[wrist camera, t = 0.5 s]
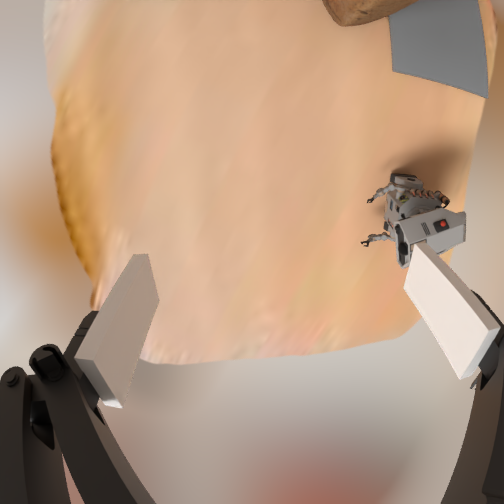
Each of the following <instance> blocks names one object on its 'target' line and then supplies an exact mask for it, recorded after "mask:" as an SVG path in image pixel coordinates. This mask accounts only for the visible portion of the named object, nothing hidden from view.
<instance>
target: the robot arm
mask: <svg viewBox="0 0 504 504" xmlns="http://www.w3.org/2000/svg"><path fill="white" fill-rule="evenodd" d="M404 290H405V291H406V293H407V294H408V296H409V297H410V299H411V300H412V302H413V303H414V305H415V306H416V308H417V309H418V311H419V312H420V314H421V315H422V317H423V319H424V320H425V322H426V323H427V325H428V327H429V328H430V330H431V331H432V333H433V335H434V336H435V338H436V339H437V341H438V343H439V345H440V346H441V348H442V350H443V351H444V353H445V355H446V357H447V358H448V360H449V362H450V364H451V365H452V367H453V369H454V371H455V372H456V374H457V376H458V378H459V380H460V379H463V378H466V377H469V376H471V375H472V374H473V373H474V371H475V370H476V368H477V366H479V367H480V369H481V372H480V373H479V375H478V376H477V378H476V379H475V380H474V382H473V383H472V385H471V387H470V388H471V389H472V388H473V387H474V385H475V384H477V385H476V388H475V390H476V391H475V396H474V401H473V406H472V410H471V415H470V420H469V423H468V427H467V431H466V434H465V438H464V441H463V445H462V448H461V451H460V454H459V458H458V461H457V464H456V466H455V469H454V472H453V475H452V477H451V480H450V483H449V485H448V488H447V490H446V492H445V495H444V497H443V499H442V502H441V504H504V325H503V324H502V322H501V321H500V320H499V318H498V317H497V316H496V315H495V313H494V312H493V311H492V310H490V307H489V306H488V305H487V304H486V303H485V301H484V300H483V299H482V298H481V297H480V296H479V295H478V294H477V293H475V292H474V291H472V290H470V289H469V288H468V287H467V286H466V284H465V283H464V282H463V281H462V280H461V279H460V278H459V277H458V276H457V274H456V273H454V271H453V270H452V269H451V268H450V267H449V266H448V265H447V264H446V263H445V262H444V261H443V260H442V259H441V258H440V257H439V256H438V254H437V253H436V252H435V251H434V250H433V249H432V248H431V247H430V246H429V245H428V244H427V243H418V244H414V249H413V253H412V257H411V261H410V265H409V269H408V273H407V277H406V281H405V284H404ZM158 303H159V297H158V293H157V289H156V285H155V281H154V277H153V273H152V269H151V264H150V260H149V256H148V254H134V255H133V256H132V258H131V259H130V261H129V263H128V264H127V266H126V267H125V269H124V270H123V272H122V274H121V275H120V277H119V278H118V280H117V282H116V283H115V285H114V287H113V288H112V290H111V292H110V293H109V295H108V297H107V298H106V300H105V302H104V304H103V305H102V307H101V309H100V311H91V312H90V313H89V314H88V315H87V316H86V317H85V318H84V319H83V321H82V322H81V324H80V326H79V329H77V331H76V333H75V336H73V338H72V340H71V341H70V344H69V345H68V347H67V349H66V351H65V352H64V354H62V353H61V351H60V349H59V348H58V346H56V345H54V344H47V345H43V346H41V347H39V348H37V349H36V350H35V351H34V352H33V354H32V355H31V357H30V360H29V365H30V366H31V368H32V369H33V371H34V372H35V375H27V374H26V373H25V372H24V370H23V369H22V368H20V367H18V366H17V367H12V368H9V369H8V370H7V371H5V373H4V374H3V375H2V377H1V380H0V504H71V502H70V497H69V493H68V488H67V483H66V478H65V472H64V466H63V458H62V454H63V456H64V459H65V461H66V464H67V466H68V468H69V471H70V473H71V476H72V478H73V480H74V482H75V485H76V487H77V489H78V491H79V493H80V495H81V497H82V499H83V501H84V503H85V504H156V503H155V501H154V500H153V499H152V497H151V496H150V495H149V493H148V492H147V490H146V489H145V487H144V486H143V484H142V483H141V482H140V480H139V478H138V477H137V476H136V474H135V472H134V471H133V469H132V467H131V466H130V464H129V462H128V461H127V459H126V457H125V456H124V454H123V452H122V451H121V449H120V447H119V445H118V444H117V442H116V440H115V438H114V436H113V434H112V433H111V431H110V429H109V427H108V425H107V423H106V421H105V419H104V417H103V415H102V413H101V411H100V409H99V407H98V406H97V403H98V400H99V397H100V398H101V400H102V401H103V402H104V404H105V405H107V406H112V407H118V408H123V406H124V403H125V400H126V397H127V394H128V390H129V387H130V384H131V381H132V378H133V374H134V371H135V368H136V365H137V362H138V359H139V356H140V353H141V350H142V347H143V345H144V342H145V339H146V336H147V333H148V330H149V328H150V325H151V322H152V319H153V316H154V314H155V311H156V308H157V306H158Z"/></svg>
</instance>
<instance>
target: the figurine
mask: <svg viewBox="0 0 504 504" xmlns="http://www.w3.org/2000/svg"><path fill="white" fill-rule="evenodd" d="M390 182H393V183H397V184H398V185H396V186H394V184H393V183H389V184H388V186H386V187H384V188H380V189H378V190H377V191H376V193H377V194H375V195H374V196H373V198H372V199H368V200H367V203H368V201H371V202H369V203H372V201H373V200H374V199H375V198H377V197H378V196H379V197H380V196H383V195H384V194H385V193H386V192H388V191H389V190H390V191H389V192H388V193H387V199H386V204H385V212H384V213H385V216H384V219H385V220H386V222H385V223H384V229H385V230H386V231H389V232H390V235H387V233H386V232H383V233H382V234H378V235H376V234H371V235H369V236H368V238H369V239H368V240H367V241H363V242H361V244H363V243H367V245H364V246H366V247H368V245H369V243H370V242H373V241H376V240H381V239H382V240H383V241H385V240H387V239H390V240H391V241H394V242H396V254H397V262H398V264H399V265H400V267H401V268H402V269H404V268H406V267H409V265H410V261H411V257H412V253H413V249H414V244H418V243H427V244H428V245H429V246H430V247H431V248H432V249H433V250H434V251H435V252H436V253H437V254H438V255H440V254H443V253H444V252H446V251H448V250H449V249H451V248H453V247H454V246H456V245H458V244H460V243H463V242H465V235H466V213H465V212H459V213H454V212H452V211H449V210H447V209H444V208H445V207H446V206H447V205H448V204H449V203H450V200H449V199H448V198H447V197H446V196H444V195H443V194H442V193H441V192H440V191H436V192H435V194H433V192H432V191H430V190H429V191H428V192H427V191H426V190H424V189H423V182H422V181H421V180H419V179H417V177H416V176H414V175H403V174H391V177H390ZM442 203H444V204H445V206H444V207H443V208H442V206H441V204H442Z"/></svg>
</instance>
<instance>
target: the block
mask: <svg viewBox="0 0 504 504" xmlns="http://www.w3.org/2000/svg"><path fill="white" fill-rule="evenodd" d="M322 1H323V3H324V5H325V7H326V9H327V10H328V12H329V14H330V15H331V16H332V18H333V20H334V21H335V22H336V23H337V24H339V25H340V26H356V25H361V24H366V23H369V22H372V21H375V20H378V19H381V18H383V17H386V16H389V15H391V14H394V13H396V12H398V11H399V10H401V9H403V8H406V7H407V6H409V5H411V4H413V3H415V2H417V1H419V0H322Z"/></svg>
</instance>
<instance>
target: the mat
mask: <svg viewBox="0 0 504 504" xmlns="http://www.w3.org/2000/svg"><path fill="white" fill-rule="evenodd" d="M389 25H390V36H391V49H392V68H393V72H398V73H402V74H407V75H411V76H416V77H420V78H424V79H428V80H431V81H435V82H439V83H442V84H446V85H449V86H452V87H455V88H459V89H462V90H465V91H468V92H470V93H473V94H476V95H479V96H481V97H484V98H488V74H487V60H486V49H485V41H484V33H483V27H482V20H481V15H480V10H479V5H478V0H419V1H417V2H415V3H413V4H411V5H409V6H407V7H406V8H403V9H401V10H399V11H398V12H396V13H394V14H391V15H389Z"/></svg>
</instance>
